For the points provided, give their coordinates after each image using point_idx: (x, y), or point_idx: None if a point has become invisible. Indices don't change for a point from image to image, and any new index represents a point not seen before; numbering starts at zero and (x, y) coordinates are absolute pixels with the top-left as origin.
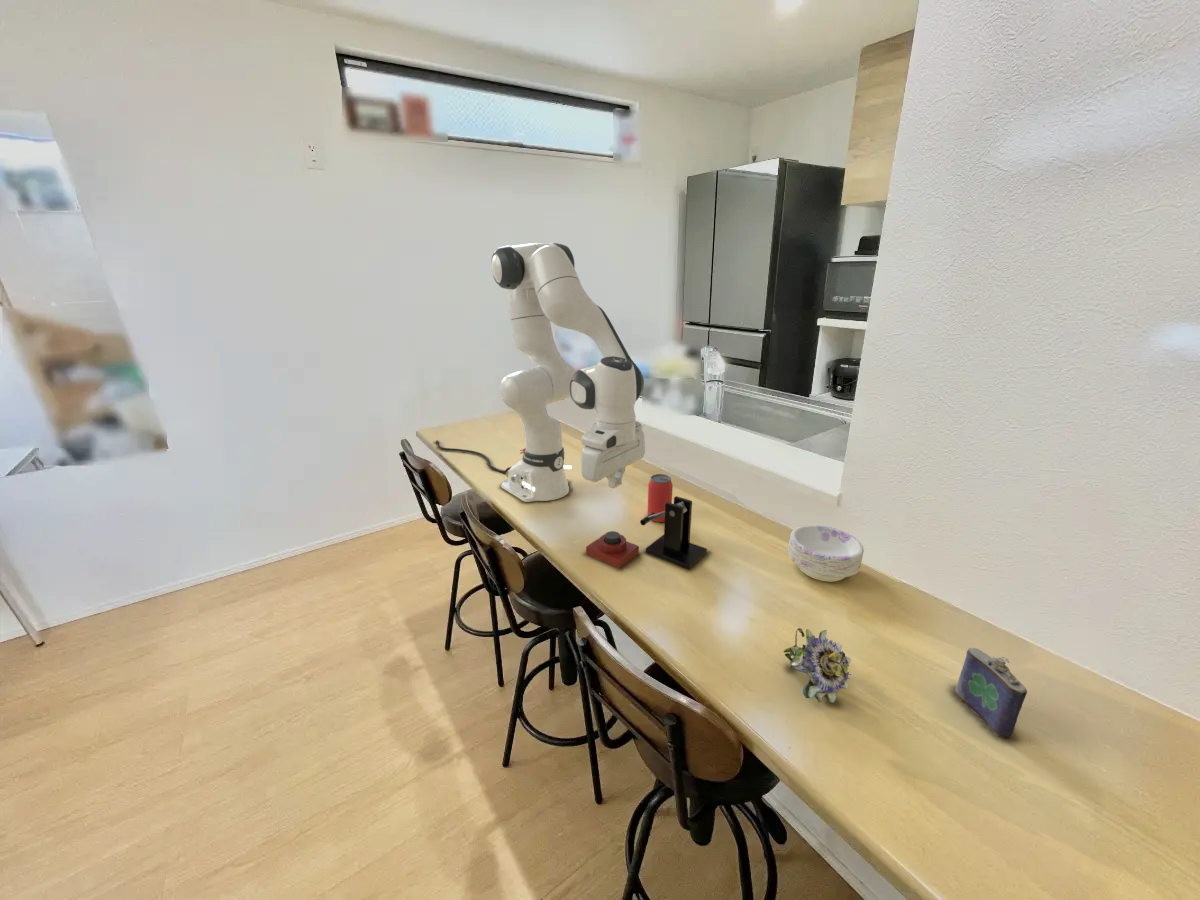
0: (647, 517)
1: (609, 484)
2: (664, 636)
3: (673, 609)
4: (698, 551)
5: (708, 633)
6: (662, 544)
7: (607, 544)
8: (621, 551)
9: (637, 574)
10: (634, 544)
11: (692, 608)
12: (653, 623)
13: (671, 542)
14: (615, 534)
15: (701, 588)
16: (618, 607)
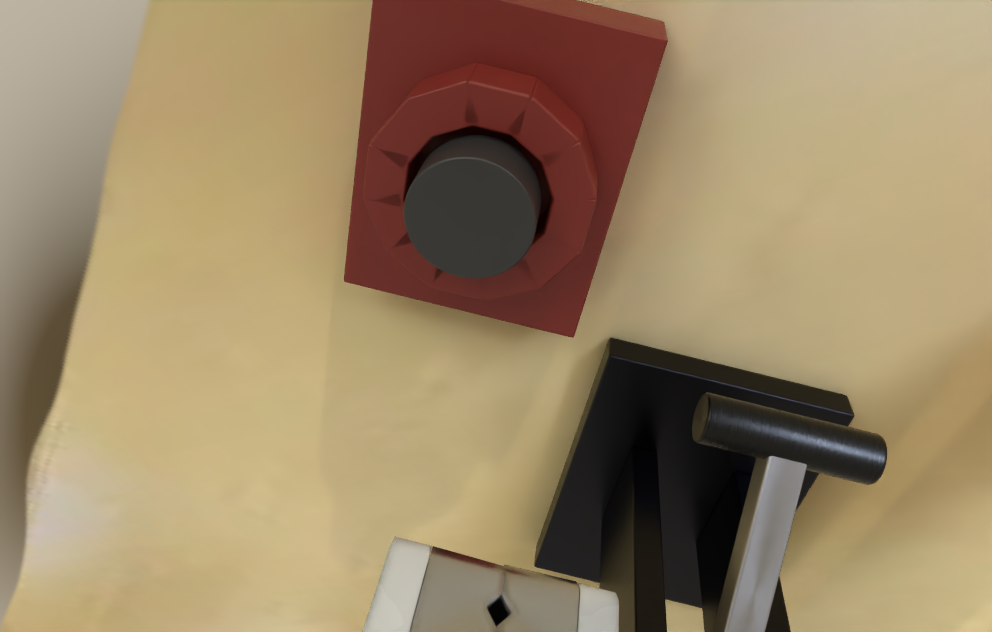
0: (767, 456)
1: (377, 585)
2: (79, 528)
3: (230, 531)
4: (688, 587)
5: (194, 627)
6: None
7: (392, 190)
8: None
9: (369, 354)
10: (581, 308)
11: (281, 581)
12: (107, 488)
13: (614, 541)
14: (488, 240)
15: None
16: (84, 350)
